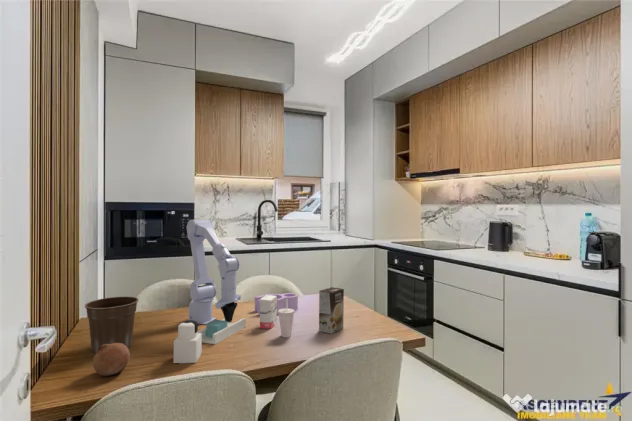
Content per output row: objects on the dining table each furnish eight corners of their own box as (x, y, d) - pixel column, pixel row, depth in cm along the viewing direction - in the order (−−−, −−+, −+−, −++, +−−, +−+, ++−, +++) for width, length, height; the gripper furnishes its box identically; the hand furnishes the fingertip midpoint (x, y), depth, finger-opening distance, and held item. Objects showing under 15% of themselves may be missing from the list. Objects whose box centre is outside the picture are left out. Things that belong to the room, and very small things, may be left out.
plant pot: (104, 338, 130) (104, 295, 130) (147, 339, 130) (147, 296, 130) (73, 357, 114) (73, 307, 114) (121, 357, 114) (121, 308, 114)
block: (216, 331, 136) (216, 319, 136) (227, 332, 134) (227, 321, 134) (206, 336, 130) (206, 324, 130) (217, 338, 129) (217, 326, 128)
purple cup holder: (291, 305, 177) (291, 291, 177) (301, 311, 166) (301, 297, 166) (253, 309, 168) (253, 295, 168) (260, 317, 157) (260, 301, 157)
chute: (228, 324, 146) (228, 316, 146) (245, 326, 144) (245, 318, 144) (197, 341, 128) (197, 331, 128) (215, 344, 125) (215, 334, 125)
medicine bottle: (179, 354, 116) (179, 318, 116) (201, 353, 117) (201, 318, 117) (172, 364, 109) (173, 325, 109) (196, 363, 110) (196, 325, 110)
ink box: (270, 329, 141) (270, 300, 141) (259, 328, 142) (259, 299, 142) (277, 322, 149) (277, 295, 149) (266, 321, 150) (266, 294, 150)
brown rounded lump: (96, 387, 101) (78, 359, 99) (119, 364, 110) (102, 338, 108) (121, 379, 98) (103, 351, 96) (142, 357, 107) (126, 330, 105)
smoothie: (297, 333, 136) (297, 298, 136) (290, 339, 130) (290, 302, 130) (282, 331, 138) (282, 296, 138) (275, 337, 132) (275, 300, 132)
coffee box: (331, 334, 136) (332, 293, 135) (318, 330, 139) (318, 290, 139) (344, 327, 143) (344, 288, 143) (330, 324, 147) (331, 286, 147)
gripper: (226, 292, 131) (226, 328, 131) (247, 284, 145) (247, 317, 145) (210, 291, 134) (210, 326, 134) (232, 283, 147) (232, 315, 147)
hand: (228, 321), depth 139 cm, fingers closed
